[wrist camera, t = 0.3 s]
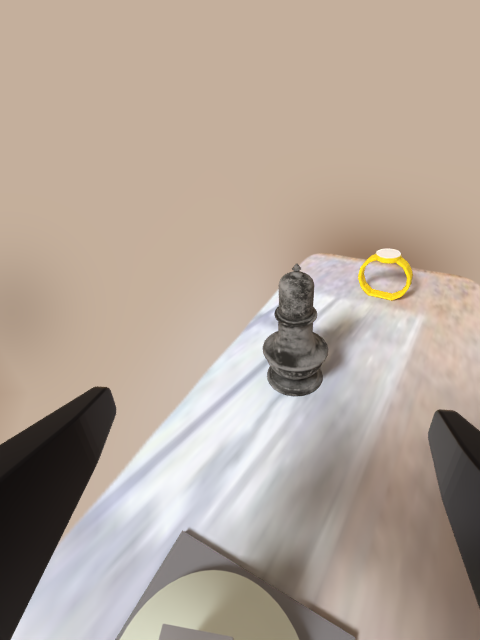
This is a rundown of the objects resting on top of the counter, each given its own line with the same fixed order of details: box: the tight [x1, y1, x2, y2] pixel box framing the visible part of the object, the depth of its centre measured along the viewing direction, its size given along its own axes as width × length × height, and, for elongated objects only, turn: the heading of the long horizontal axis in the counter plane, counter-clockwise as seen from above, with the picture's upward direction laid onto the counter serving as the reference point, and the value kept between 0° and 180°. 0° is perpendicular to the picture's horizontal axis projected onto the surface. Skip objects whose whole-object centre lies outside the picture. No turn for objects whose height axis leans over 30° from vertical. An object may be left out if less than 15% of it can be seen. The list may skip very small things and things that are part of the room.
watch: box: [358, 249, 413, 301], centre depth 41 cm, size 6×3×6 cm, turn 57°
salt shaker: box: [263, 264, 328, 396], centre depth 29 cm, size 6×6×12 cm
